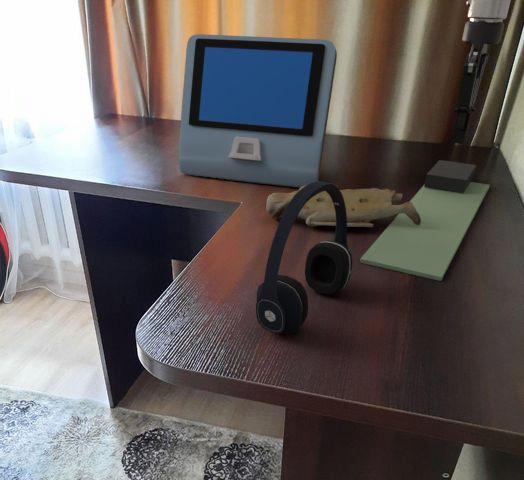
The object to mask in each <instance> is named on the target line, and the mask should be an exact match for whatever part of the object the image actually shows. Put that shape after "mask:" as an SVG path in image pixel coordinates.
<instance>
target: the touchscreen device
mask: <svg viewBox="0 0 524 480" xmlns="http://www.w3.org/2000/svg"><path fill="white" fill-rule="evenodd" d="M337 59H338V55H337V49H336V46H335V43H334V42H333V41H331V40H328V39H318V38H317V39H316V38H296V37H295V38H293V37H273V36H272V37H271V36H250V35H249V36H248V35H225V34H206V33H205V34H202V33H201V34H200V33H197V34H193V35H191V36H189V37H188V39H187V43H186V51H185V63H184V64H185V65H184V73H183V74H184V76H183V88H182V99H181V110H180V111H181V112H180V122H179V123H180V131H179V143H178V144H179V145H178V165H179V172H180V173H181V174H183V175H186V174H188V175H187V176H192V175H195V176H194V177H199V176H203V177H202V178H207V177H211V178H210V179H216V178H218V179H217V180H224V179H226V180H225V181H232V182H233V181H234V182H241V181H242V182H243V183H250V184H251V183H252V184H258V185H267V186H278V187H286V188H296V189H300V188H301V187H302V186H305V185H308V184H310V183H313V182H319V181H320V174H321V168H322V162H323V161H322V160H323V152H324V146H325V140H326V132H327V126H328V120H329V112H330V107H331V106H330V105H331V98H332V93H333V86H334V79H335V72H336V66H337ZM242 182H241V183H242Z"/></svg>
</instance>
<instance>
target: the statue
mask: <svg viewBox="0 0 524 480" xmlns="http://www.w3.org/2000/svg"><path fill="white" fill-rule="evenodd" d="M334 185H335V186H337V185H336V184H334ZM305 186H307V185H305ZM305 186H302V187H301V188H298V190H295V191H292V192H289V193H288V192H273V193H271V194H269V195H268V197H267V199H266V204H265V210H266V212H267V214H268V215H269V216H271V218H272V219H274V218H279V217H282V216H283V214H284V212H285V210H286V208H287V206H288V204H289V203H290V201H291V200H292V198H293V197H294V196H295V194H296V193H298V192H299V191H300V190H301V189H302V188H304V187H305ZM339 190H340V191H341V193H342V195H343V198H344V202H345V207H346V214H347V228H348V227H349V228H350V227H355V228H356V227H357V228H373V227H374V223H371V222H372V221H373V220H377V219H384V218H388V217H392V216H395V215H399V214H401V213H402V214H406V215H407V216H408V217H409V218H410V219H411V220H412V221H413V223H414V224H415V225H418V226H419V225H420V223H421V220H420V219H421V218H420V215H419V213H418V212H417V210H416V209H415V207H414V205H413V204H412V202H410V201H406V202H404V203H402V198H403V196H404V194H403V193H396V190H395V189H394V190H391V189H389V188H385V189H384V188H383V189H380V188H377V187H371V188H356V189H351V188H346V189H339ZM394 203H401V204H394ZM297 217H299V218H300V219H302V220H305V225H307V226H308V227H309V228H315V227H317V226H330V227H336V214H335V208H334V203H333V201H332V199H331V197H330V196H329V194H328V193H327V192H326V191H323V192H321V193H318V194H317V195H315V196H314V197H312V198H311V199H310V200H309V201H308V202H307V203H306V204H305V205H304V206H303V208H302V209H301V211H300V213H299V214H298V216H297Z"/></svg>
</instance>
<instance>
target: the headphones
mask: <svg viewBox="0 0 524 480" xmlns="http://www.w3.org/2000/svg"><path fill="white" fill-rule="evenodd" d="M335 185H336V184H334V183H331V182H326V181H322V180H321V181H320V180H319V182H313V183H310V184H308V185H307V186H305V187H304V188H302V189H301V190H300V191H299V192H298V193H296V194H295V196H294V197H293V198H292V200H291V201H290V203H289V204H288V206H287V208H286V210H285V212H284V214H283V216H281V218H280V220H279V222H278V225H277V227H276V230H275V233H274V236H273V240H272V241H271V245H270V249H269V252H268V257H267V262H266V266H265V270H264V271H265V272H264V279H263V282H262V283H261V284H260V285H258V286H257V291H256V303H255V315H256V320H257V322H258V325H260V327H261V328H263V329H264V330H265V331H268V332H270V333H273V334H281V333H282V334H284V335H292V334H294V333H295V332H297V331H298V330H299V329H300V327H302V326H303V325H304V323H305V322H306V320H307V317H308V313H309V298H308V294H307V293H308V292H307V290H306V288H305V286H303V284H302V283H301V282H300V281H298V280H297V279H296V278H294V277H291V276H289V275H285V274H279V270H280V266H281V261H282V258H283V254H284V251H285V248H286V244H287V240H288V239H289V236H290V233H291V231H292V228H293V226H294V224H295V222H296V220H297V218H298V217H299V216H298V214H299V213H300V211H301V209H302V208H303V206H304V205H305V204H306V203H307V202H308V201H309V200H310V199H311V198H312V197H314V196H315V195H317V194H318V193H321V192H323V191H326V192H327V193H328V194H329V196H330V197H331V199H332V201H333V203H334V208H335V214H336V226H335V233H334V238H333V240H321V241H320V242H318V243H316V244H315V245H314V246H312V247H311V248H310V249H309V251H308V253H307V255H306V259H305V263H304V264H305V265H304V277H305V281H306V283H307V285H308V287H309V288H310V289H312V291H314V292H317V293H319V294H321V295H322V294H323V295H327V296H329V295H330V296H331V295H337V294H338V293H340V291H342V290H343V289H345V288H346V287H347V286H348V284H349V282H350V279H351V275H352V270H353V256H352V253H351V251H350V249H349V246H348V235H347V234H348V227H347V214H346V207H345V202H344V198H343V195H342V193H341V191H340V190H341V189H339V187H338V185H336V186H335Z"/></svg>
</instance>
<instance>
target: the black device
mask: <svg viewBox="0 0 524 480" xmlns="http://www.w3.org/2000/svg"><path fill="white" fill-rule="evenodd" d="M476 169H477V164H471V163H464V162H458V161H450V160H443V159H439V160H438V161H437V162H436V163H435V164H434V165H433V167H432V168H430V170H429V171H428V172H427V173H426V176H425V180H424V184H425V185H424V184H423V186H424V187H428V188H434V189H440V190H446V191H452V192H459V193H464V191H465V190H466V188H467V187H468V185H469V183H470V182H472V180H473V179H474V176H475V172H476Z"/></svg>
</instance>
